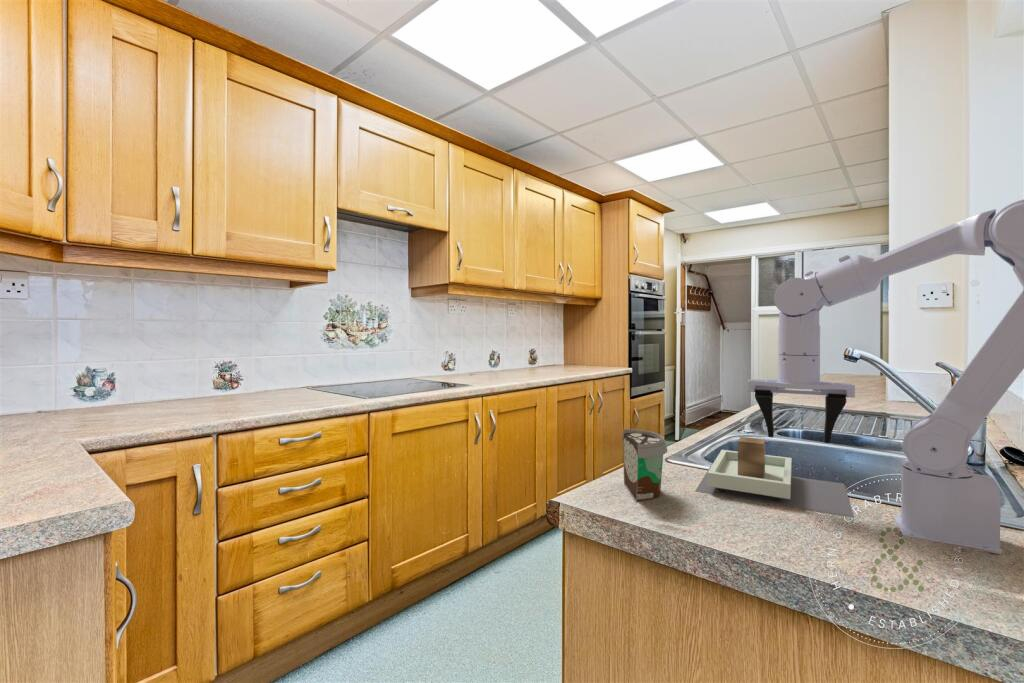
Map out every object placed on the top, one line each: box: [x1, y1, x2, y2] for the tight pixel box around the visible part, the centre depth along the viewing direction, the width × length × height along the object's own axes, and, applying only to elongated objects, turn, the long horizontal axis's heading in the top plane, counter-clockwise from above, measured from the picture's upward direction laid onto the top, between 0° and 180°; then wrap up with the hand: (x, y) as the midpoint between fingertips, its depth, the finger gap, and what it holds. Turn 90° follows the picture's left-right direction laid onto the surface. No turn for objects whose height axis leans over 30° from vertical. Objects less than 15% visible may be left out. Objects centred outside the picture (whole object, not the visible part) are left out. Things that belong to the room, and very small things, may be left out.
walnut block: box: [737, 436, 766, 479], centre depth 82 cm, size 4×4×6 cm
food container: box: [621, 428, 668, 504], centre depth 80 cm, size 12×6×10 cm, turn 179°
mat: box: [694, 465, 855, 519], centre depth 81 cm, size 22×17×1 cm
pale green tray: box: [707, 449, 793, 501], centre depth 82 cm, size 12×17×4 cm
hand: (798, 438), depth 75 cm, fingers open, 7 cm apart
